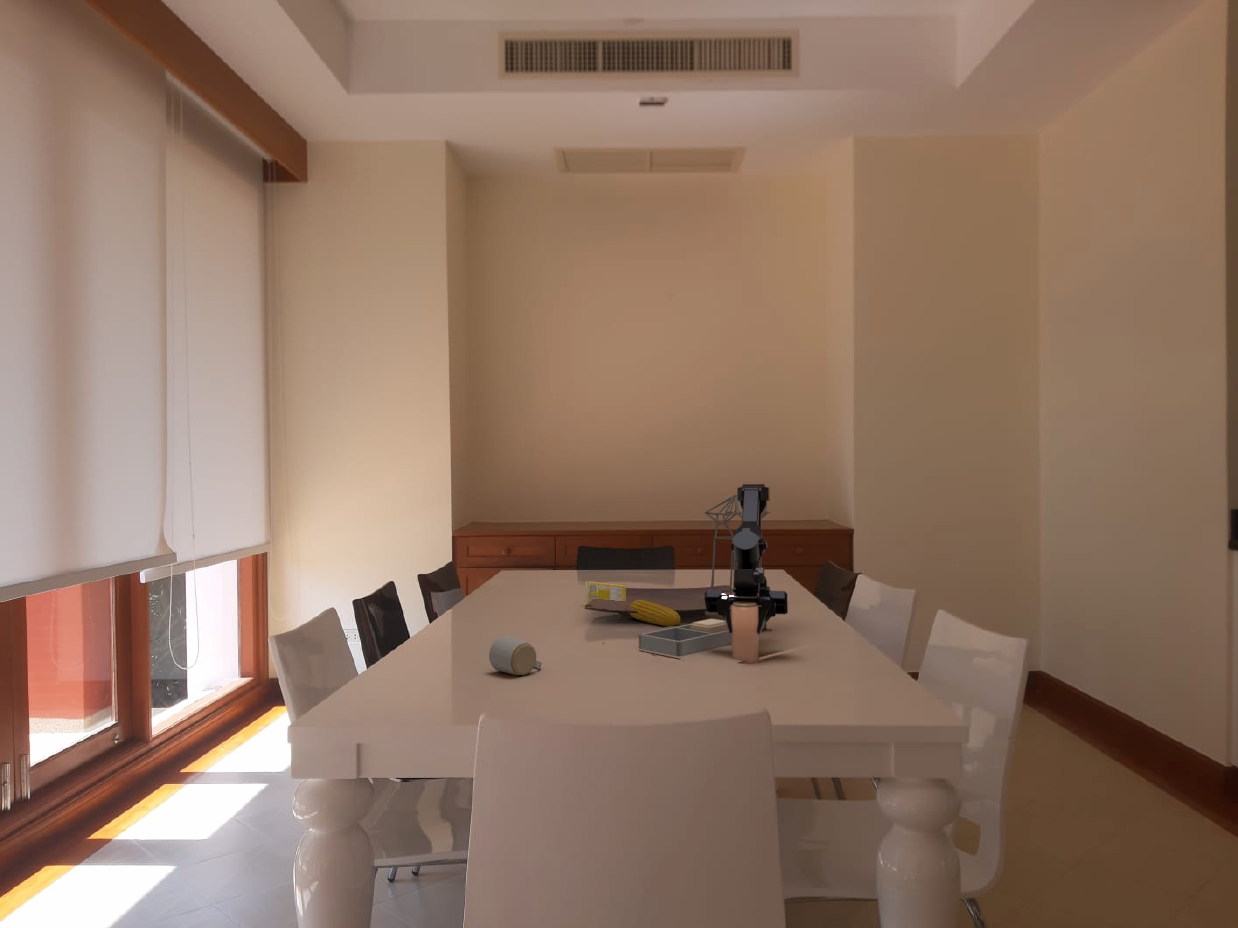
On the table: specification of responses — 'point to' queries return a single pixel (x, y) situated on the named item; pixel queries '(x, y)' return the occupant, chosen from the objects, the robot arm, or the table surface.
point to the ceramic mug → (513, 656)
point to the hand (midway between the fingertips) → (744, 632)
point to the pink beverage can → (745, 632)
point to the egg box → (709, 626)
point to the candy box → (604, 591)
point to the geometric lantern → (728, 530)
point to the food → (654, 613)
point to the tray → (682, 641)
